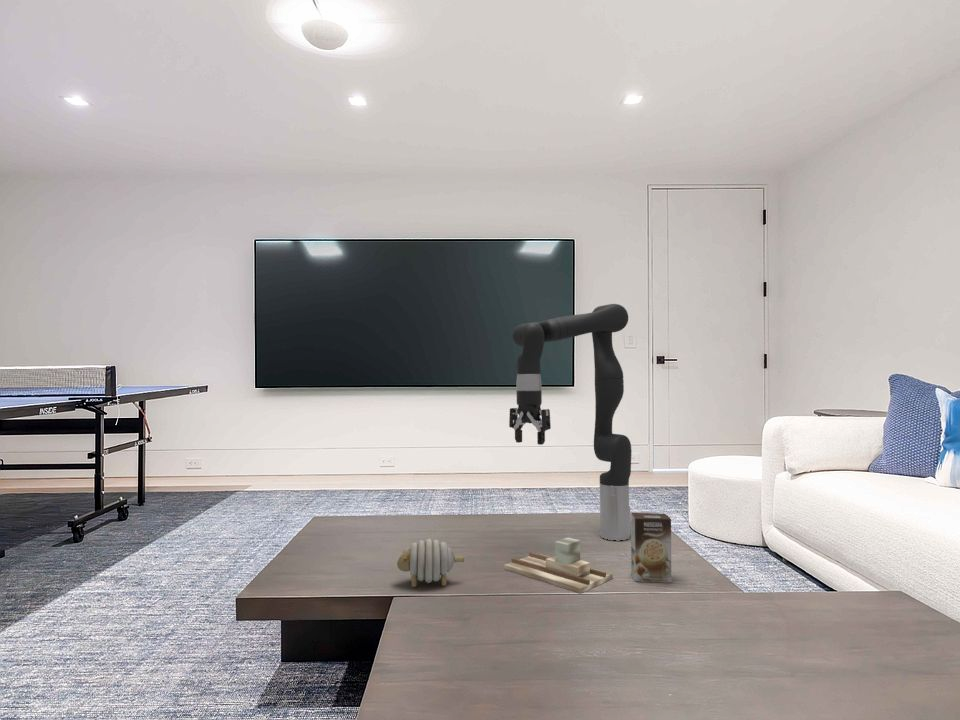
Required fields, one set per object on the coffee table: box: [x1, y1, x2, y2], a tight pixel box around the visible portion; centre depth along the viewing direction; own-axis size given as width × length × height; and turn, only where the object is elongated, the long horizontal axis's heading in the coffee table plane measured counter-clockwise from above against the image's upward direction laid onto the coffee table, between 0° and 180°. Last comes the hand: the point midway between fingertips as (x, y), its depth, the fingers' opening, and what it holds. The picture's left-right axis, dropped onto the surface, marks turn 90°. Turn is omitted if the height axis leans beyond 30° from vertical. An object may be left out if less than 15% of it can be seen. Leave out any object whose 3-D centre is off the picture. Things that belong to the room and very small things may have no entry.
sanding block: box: [546, 537, 591, 578], centre depth 148 cm, size 6×10×8 cm, turn 45°
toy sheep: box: [396, 538, 465, 588], centre depth 144 cm, size 11×17×11 cm, turn 100°
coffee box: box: [630, 512, 673, 584], centre depth 147 cm, size 9×6×16 cm
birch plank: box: [503, 551, 614, 594], centre depth 150 cm, size 14×25×2 cm, turn 45°
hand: (529, 443), depth 171 cm, fingers open, 8 cm apart
